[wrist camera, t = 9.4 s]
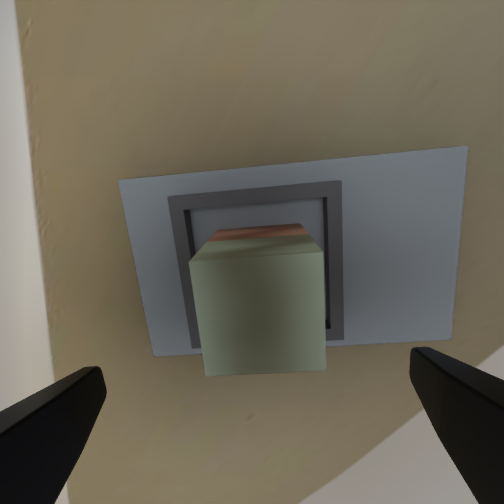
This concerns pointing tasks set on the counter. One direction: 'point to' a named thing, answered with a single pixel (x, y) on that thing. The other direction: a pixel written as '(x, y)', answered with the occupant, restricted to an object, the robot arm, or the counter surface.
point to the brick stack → (260, 301)
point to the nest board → (322, 232)
